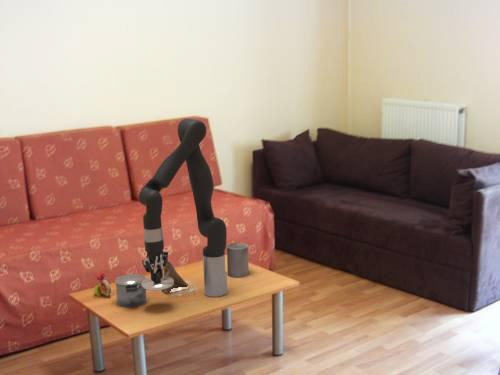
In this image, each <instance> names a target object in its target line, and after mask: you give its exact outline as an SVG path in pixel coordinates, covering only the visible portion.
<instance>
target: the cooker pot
mask: <svg viewBox="0 0 500 375" xmlns="http://www.w3.org/2000/svg"><path fill="white" fill-rule="evenodd" d="M145 279H147V277H146V276H145V275H144V274H140V273H139V274H138V273H128V274H123V275H120V276H117V277H116V278H115V279H114V282H115V290H116V292H115V293H116V301H117V302H116V304H117V305H118V306H119V307H122V308H137V307H140V306H143V305H145V304H147V301H148V300H147V298H148V297H147V290H145V289H143V288H142V287H141V282H142V281H143V280H145Z"/></svg>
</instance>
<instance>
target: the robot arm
mask: <svg viewBox="0 0 500 375" xmlns="http://www.w3.org/2000/svg"><path fill="white" fill-rule="evenodd" d="M206 135H207V127H206V125H205V123H204V122H203V121H201V120H198V119H194V118H187V117H186V118H183V119H181V120H180V121H179V123H178V124H177V136H178V139H179V145H178V146H177V147H176V148H175V149H174V150H173V151H172V152H171V153H170V154H169V155H168V156H167V157H166V158H165V159H164V160H163V161H162V162H161V164H160V165H159V167H158V168H157V169H156V171H155V173H154V175H153V177H151V178H150V179H149V180H148V182H147V183H145V185H143V187H142V188H141V190H140V192H139V194H138V201H139V203H141V205H142V206H145V209H146V210H145V213H144V214H143V215H142V216H143V217H142V223H143V242H144V250H145V252H146V258H145V259H143V260H141V263H142V265H143V268H144V270H145V272H146V273H150V277H151V280H152V281H154V282H156V281H157V276H156V270H160V274H161V279H162V278H163V276H164V267H165V266H166V262H167V258H168V256H169V252H168V251H164V248H165V243H164V232H163V226H162V212H163V211H162V210H163V197H162V194H161V191H162V190H163V189H166V188H168V187H169V185H170V184H171V183H172V181H173V180H174V178H175V176H176V174H177V173H178V171H179V170H180V168H181V167H182V166H183V164H184V163H186V168H187V173H188V179H189V183H190V184H189V185H190V187H191V190H192V196H193V201H194V206H195V212H196V221H197V222H196V223H197V228H198V233H199V234H200V235H201V236H203V237H204V238H206V239H207V240H206V241H207V242H206V243H207V244H206V246H204V247H203V248H202V260H203V261H202V266H203V289H204V296H207V297H211V298H212V297H213V298H216V297H217V298H218V297H221V296H225V295H228V278H227V277H228V272H226V271H227V270H226V250H227V238H228V237H227V234H228V233H227V225H226V223H225V221H224V219H223V220H222V219H221V218H219V217H215V214H214V211H213V206H212V197H213V195H214V194H213V193H214V189H215V188H214V179H213V174H212V171H211V168H210V166H209V164H208V162H207V161H206V158H205V156H204V155H203V152H202V150H201V147H200V144H201V142H202V141H203V140H204V139H205V137H206Z"/></svg>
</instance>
